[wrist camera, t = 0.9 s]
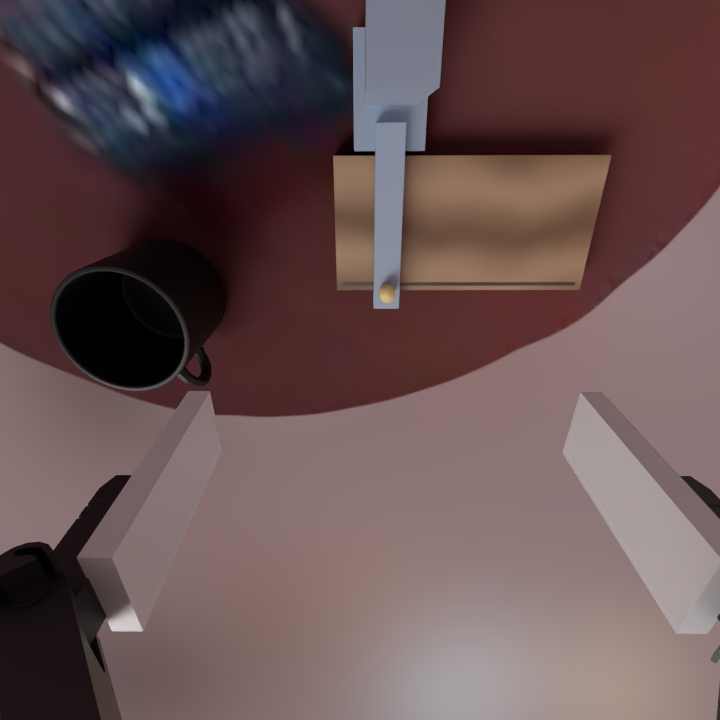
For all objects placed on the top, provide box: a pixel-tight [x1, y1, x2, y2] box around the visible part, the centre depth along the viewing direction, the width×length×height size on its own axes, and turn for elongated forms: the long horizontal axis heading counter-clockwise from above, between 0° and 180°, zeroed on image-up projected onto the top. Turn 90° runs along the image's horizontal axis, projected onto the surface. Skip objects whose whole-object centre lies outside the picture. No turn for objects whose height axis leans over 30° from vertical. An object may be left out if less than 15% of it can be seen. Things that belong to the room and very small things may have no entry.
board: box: [333, 155, 612, 290], centre depth 33 cm, size 10×20×2 cm, turn 90°
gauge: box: [353, 0, 446, 309], centre depth 27 cm, size 18×5×12 cm, turn 0°
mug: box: [50, 240, 225, 391], centre depth 33 cm, size 9×12×9 cm
